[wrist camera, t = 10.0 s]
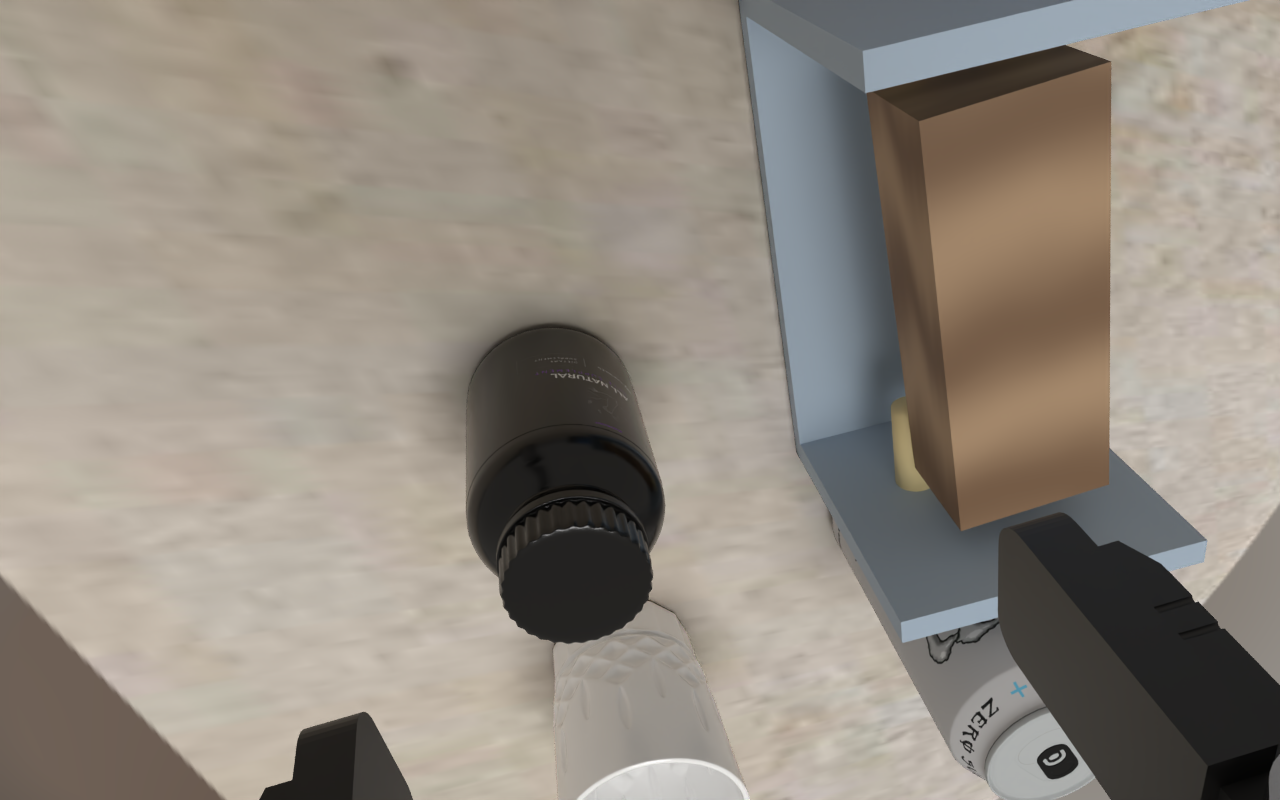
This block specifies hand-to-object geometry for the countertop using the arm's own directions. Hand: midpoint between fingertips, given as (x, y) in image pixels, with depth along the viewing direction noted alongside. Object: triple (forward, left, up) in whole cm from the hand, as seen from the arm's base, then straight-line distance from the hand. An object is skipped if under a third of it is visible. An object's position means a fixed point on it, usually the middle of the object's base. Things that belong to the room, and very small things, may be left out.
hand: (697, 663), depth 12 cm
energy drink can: (+21, +12, -27) cm, 36 cm away
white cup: (+26, -2, -27) cm, 37 cm away
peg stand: (+7, +13, -26) cm, 30 cm away
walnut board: (+7, +13, -21) cm, 25 cm away
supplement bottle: (+11, -2, -27) cm, 29 cm away
